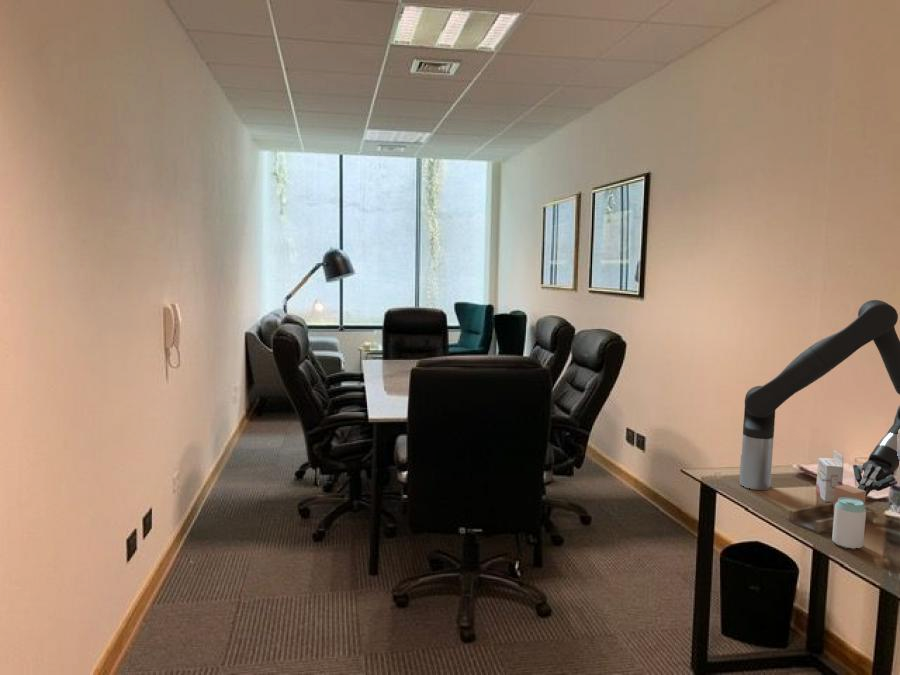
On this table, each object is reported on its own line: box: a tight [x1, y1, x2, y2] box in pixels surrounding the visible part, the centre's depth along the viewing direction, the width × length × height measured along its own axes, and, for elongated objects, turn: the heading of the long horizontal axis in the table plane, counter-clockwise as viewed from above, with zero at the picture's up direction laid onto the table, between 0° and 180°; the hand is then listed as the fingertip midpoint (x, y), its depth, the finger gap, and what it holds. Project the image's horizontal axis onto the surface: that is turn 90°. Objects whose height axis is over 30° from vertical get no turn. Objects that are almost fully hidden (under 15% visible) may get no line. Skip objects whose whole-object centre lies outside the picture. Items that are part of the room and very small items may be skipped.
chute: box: [788, 502, 875, 535], centre depth 189 cm, size 22×9×3 cm, turn 112°
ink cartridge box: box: [815, 449, 844, 503], centre depth 207 cm, size 9×5×15 cm, turn 168°
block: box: [833, 484, 867, 513], centre depth 191 cm, size 5×6×8 cm
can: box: [831, 497, 867, 550], centre depth 173 cm, size 7×7×12 cm
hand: (858, 497), depth 192 cm, fingers closed
